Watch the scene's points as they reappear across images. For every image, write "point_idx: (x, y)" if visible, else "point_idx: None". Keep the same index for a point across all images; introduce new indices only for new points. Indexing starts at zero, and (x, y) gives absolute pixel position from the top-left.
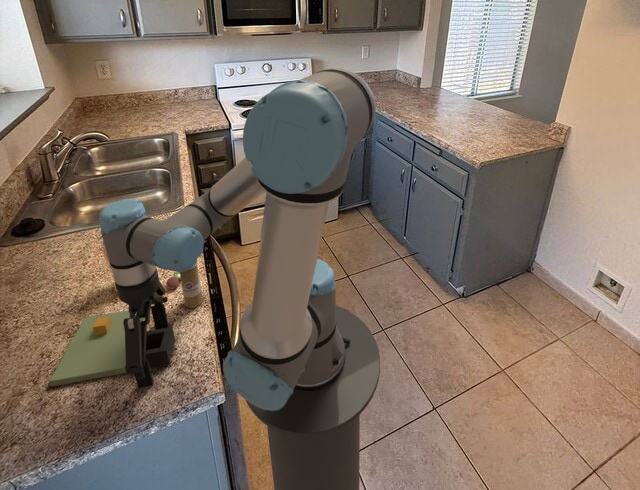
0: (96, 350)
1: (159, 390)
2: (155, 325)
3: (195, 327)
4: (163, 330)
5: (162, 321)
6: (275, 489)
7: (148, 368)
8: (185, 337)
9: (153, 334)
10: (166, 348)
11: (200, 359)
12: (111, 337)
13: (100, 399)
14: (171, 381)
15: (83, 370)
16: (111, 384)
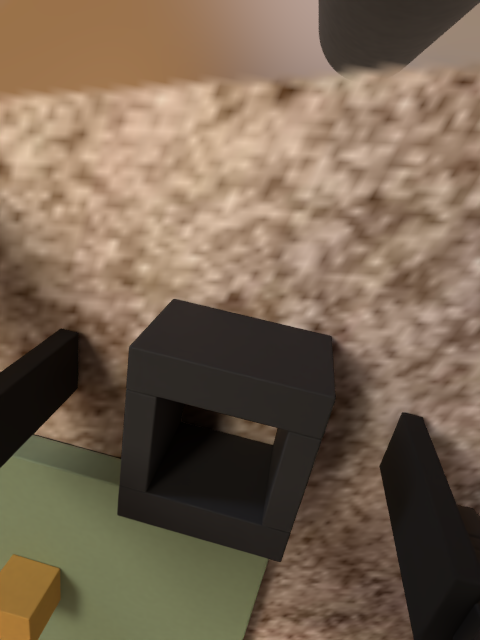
0: (137, 599)
1: (471, 389)
2: (58, 404)
3: (109, 173)
4: (144, 401)
5: (45, 380)
6: (436, 14)
7: (459, 517)
8: (170, 241)
9: (152, 449)
10: (318, 396)
11: (390, 151)
12: (84, 558)
13: (364, 575)
14: (452, 332)
15: (220, 634)
16: (312, 545)
